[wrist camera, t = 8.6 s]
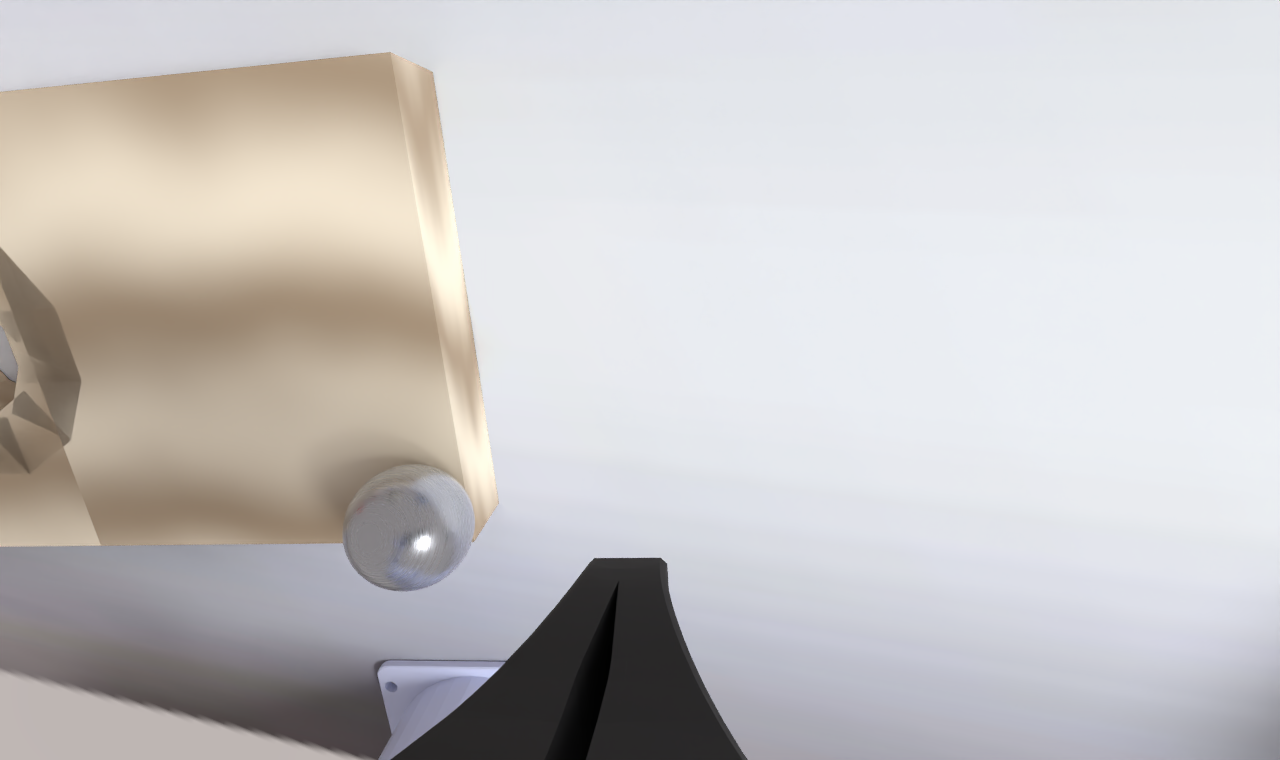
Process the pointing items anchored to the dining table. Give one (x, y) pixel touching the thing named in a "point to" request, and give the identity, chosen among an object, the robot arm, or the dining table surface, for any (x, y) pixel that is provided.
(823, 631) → the dining table surface
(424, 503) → the silver metal ball
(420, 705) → the robot arm
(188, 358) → the birch plate
